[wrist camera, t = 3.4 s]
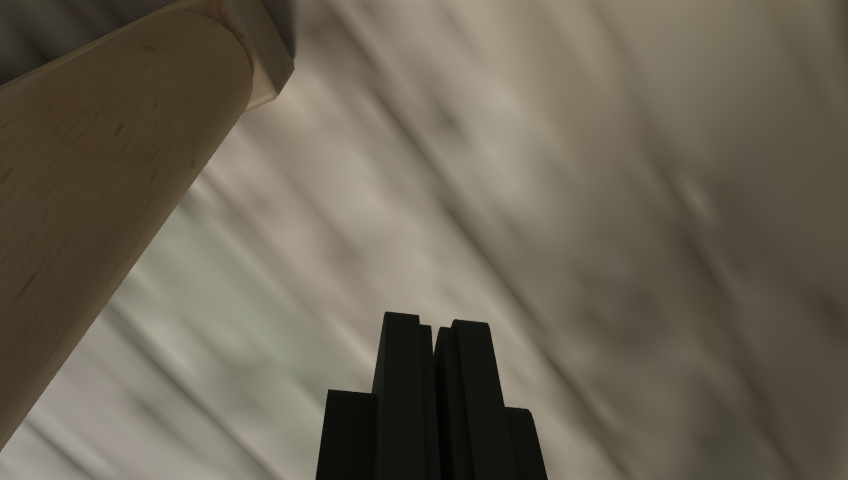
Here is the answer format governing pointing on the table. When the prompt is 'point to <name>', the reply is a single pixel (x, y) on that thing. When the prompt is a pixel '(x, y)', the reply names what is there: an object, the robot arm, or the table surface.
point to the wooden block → (111, 167)
